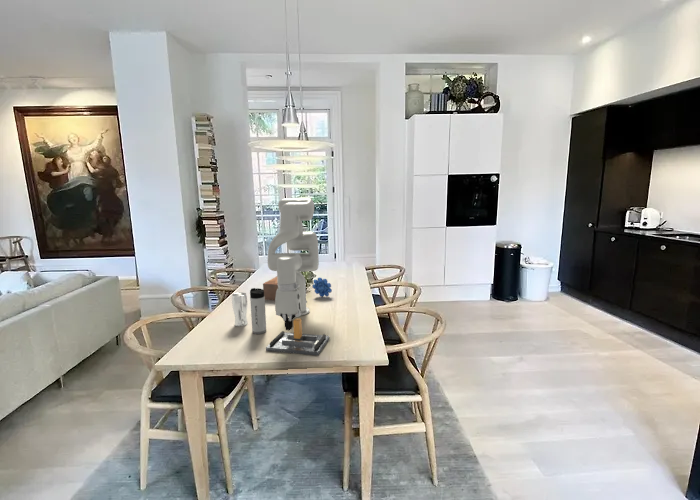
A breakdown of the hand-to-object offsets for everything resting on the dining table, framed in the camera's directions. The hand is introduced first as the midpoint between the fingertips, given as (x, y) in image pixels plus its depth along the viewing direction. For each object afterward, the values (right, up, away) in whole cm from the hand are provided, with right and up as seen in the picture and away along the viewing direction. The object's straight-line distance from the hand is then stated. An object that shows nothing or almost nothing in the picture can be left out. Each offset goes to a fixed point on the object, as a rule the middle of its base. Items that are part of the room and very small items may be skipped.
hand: (288, 329), depth 152 cm
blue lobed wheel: (+9, +5, +66) cm, 67 cm away
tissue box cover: (-15, +5, +73) cm, 75 cm away
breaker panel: (+4, -7, 0) cm, 8 cm away
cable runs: (+4, -5, 0) cm, 7 cm away
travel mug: (-16, -5, +15) cm, 22 cm away
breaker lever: (+4, -5, 0) cm, 6 cm away
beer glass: (-27, -3, +25) cm, 37 cm away
